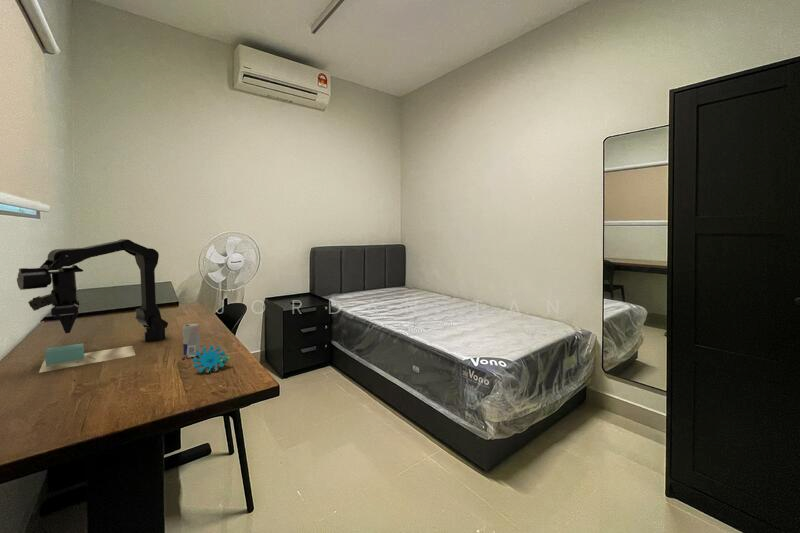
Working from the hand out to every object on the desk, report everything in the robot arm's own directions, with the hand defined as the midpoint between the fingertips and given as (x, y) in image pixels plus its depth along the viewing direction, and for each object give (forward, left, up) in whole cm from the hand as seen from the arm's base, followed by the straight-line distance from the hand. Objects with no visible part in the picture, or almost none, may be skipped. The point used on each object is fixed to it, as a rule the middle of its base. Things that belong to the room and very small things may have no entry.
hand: (68, 330), depth 115 cm
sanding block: (+1, +2, -11) cm, 11 cm away
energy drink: (-33, +19, -12) cm, 40 cm away
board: (-5, +2, -12) cm, 13 cm away
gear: (-36, +38, -12) cm, 53 cm away
